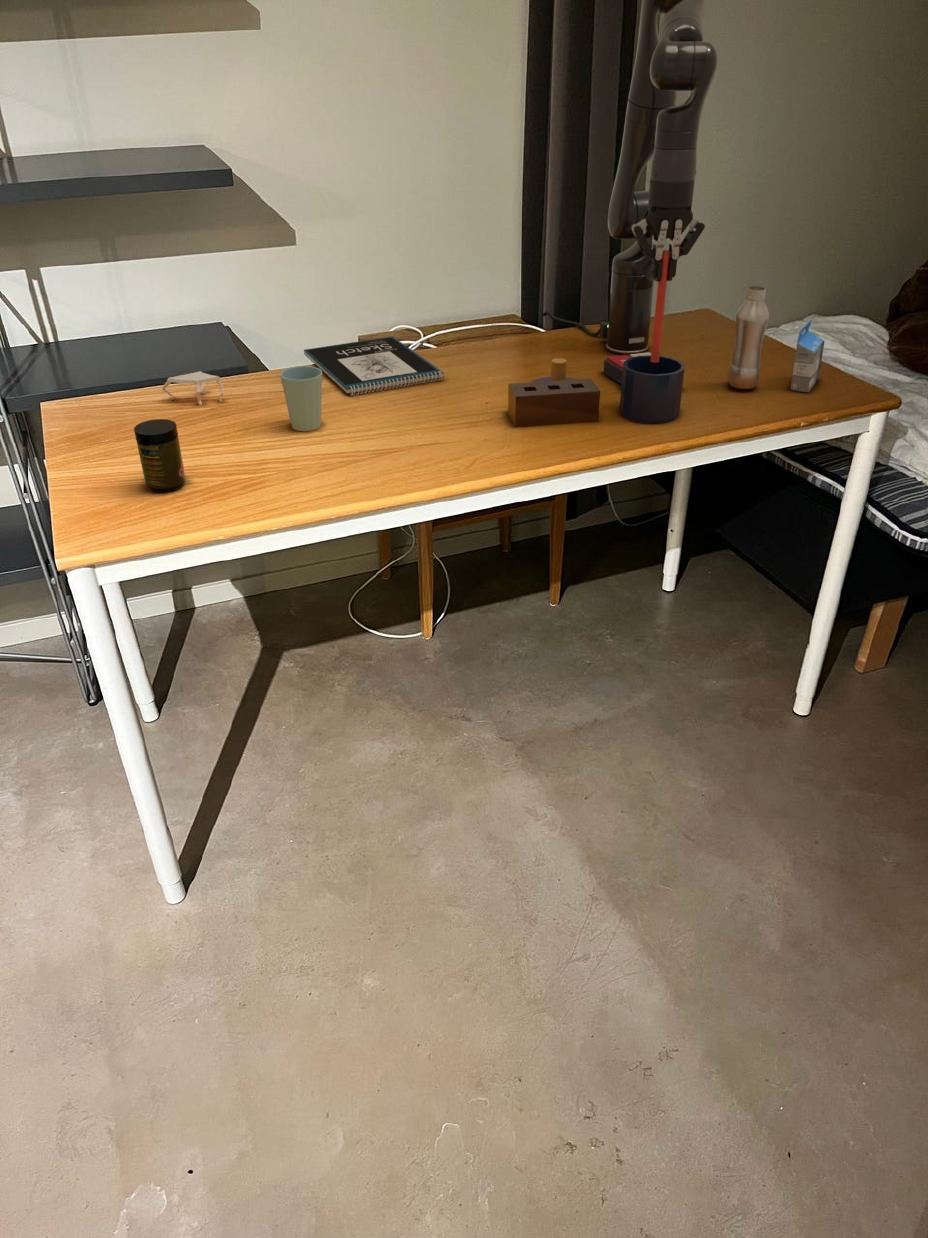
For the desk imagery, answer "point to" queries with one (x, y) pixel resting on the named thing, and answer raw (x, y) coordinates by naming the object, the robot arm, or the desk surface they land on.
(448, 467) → the desk surface
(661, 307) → the straw
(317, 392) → the cup
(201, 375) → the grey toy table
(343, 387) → the sketchbook
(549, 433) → the desk surface
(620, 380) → the calculator
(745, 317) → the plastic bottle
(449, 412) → the desk surface
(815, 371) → the label tape box
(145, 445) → the supplement container
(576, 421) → the straw holder
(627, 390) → the tin
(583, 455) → the desk surface
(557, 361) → the tin lid
